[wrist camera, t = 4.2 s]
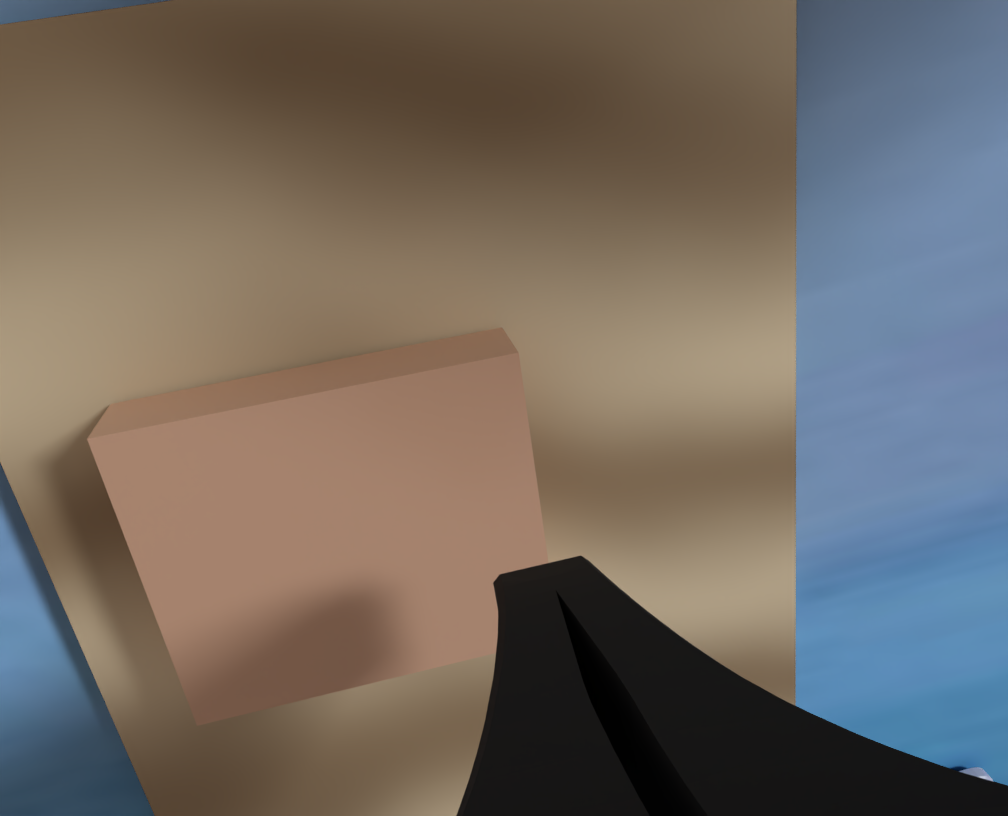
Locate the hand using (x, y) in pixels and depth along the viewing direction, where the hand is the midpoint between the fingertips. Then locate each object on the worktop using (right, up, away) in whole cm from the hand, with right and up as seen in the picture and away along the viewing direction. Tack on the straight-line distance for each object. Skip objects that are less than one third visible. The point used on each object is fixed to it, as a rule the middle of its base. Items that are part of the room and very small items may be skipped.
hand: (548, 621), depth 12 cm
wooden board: (-2, +2, +5) cm, 5 cm away
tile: (0, +2, +4) cm, 4 cm away
